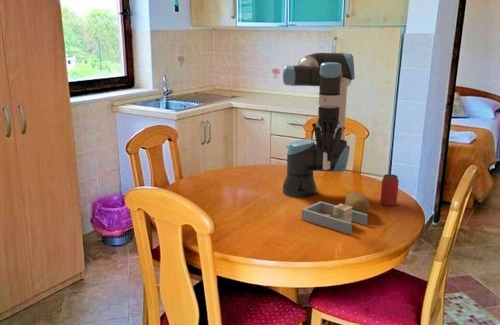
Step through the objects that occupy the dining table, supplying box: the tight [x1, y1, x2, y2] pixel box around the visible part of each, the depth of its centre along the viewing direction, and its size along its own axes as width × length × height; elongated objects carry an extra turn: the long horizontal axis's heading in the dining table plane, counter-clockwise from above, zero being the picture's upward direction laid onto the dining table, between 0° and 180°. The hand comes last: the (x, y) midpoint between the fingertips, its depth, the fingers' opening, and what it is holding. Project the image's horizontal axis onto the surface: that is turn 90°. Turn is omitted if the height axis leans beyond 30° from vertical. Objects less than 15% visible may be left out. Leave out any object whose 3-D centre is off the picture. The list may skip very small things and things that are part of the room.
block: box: [332, 203, 353, 224], centre depth 185 cm, size 5×5×7 cm
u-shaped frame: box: [301, 200, 368, 235], centre depth 187 cm, size 21×12×4 cm, turn 48°
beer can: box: [380, 173, 399, 207], centre depth 205 cm, size 7×7×12 cm
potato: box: [344, 191, 371, 214], centre depth 195 cm, size 10×14×8 cm
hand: (326, 168), depth 185 cm, fingers closed
